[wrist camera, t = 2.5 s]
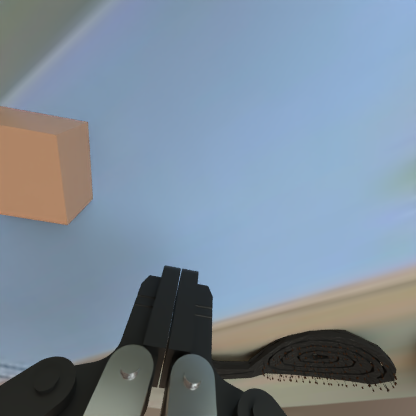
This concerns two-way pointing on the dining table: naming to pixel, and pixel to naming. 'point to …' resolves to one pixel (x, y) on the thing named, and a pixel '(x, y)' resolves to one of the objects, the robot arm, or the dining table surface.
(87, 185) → the tan square block
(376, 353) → the hairbrush
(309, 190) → the dining table surface
